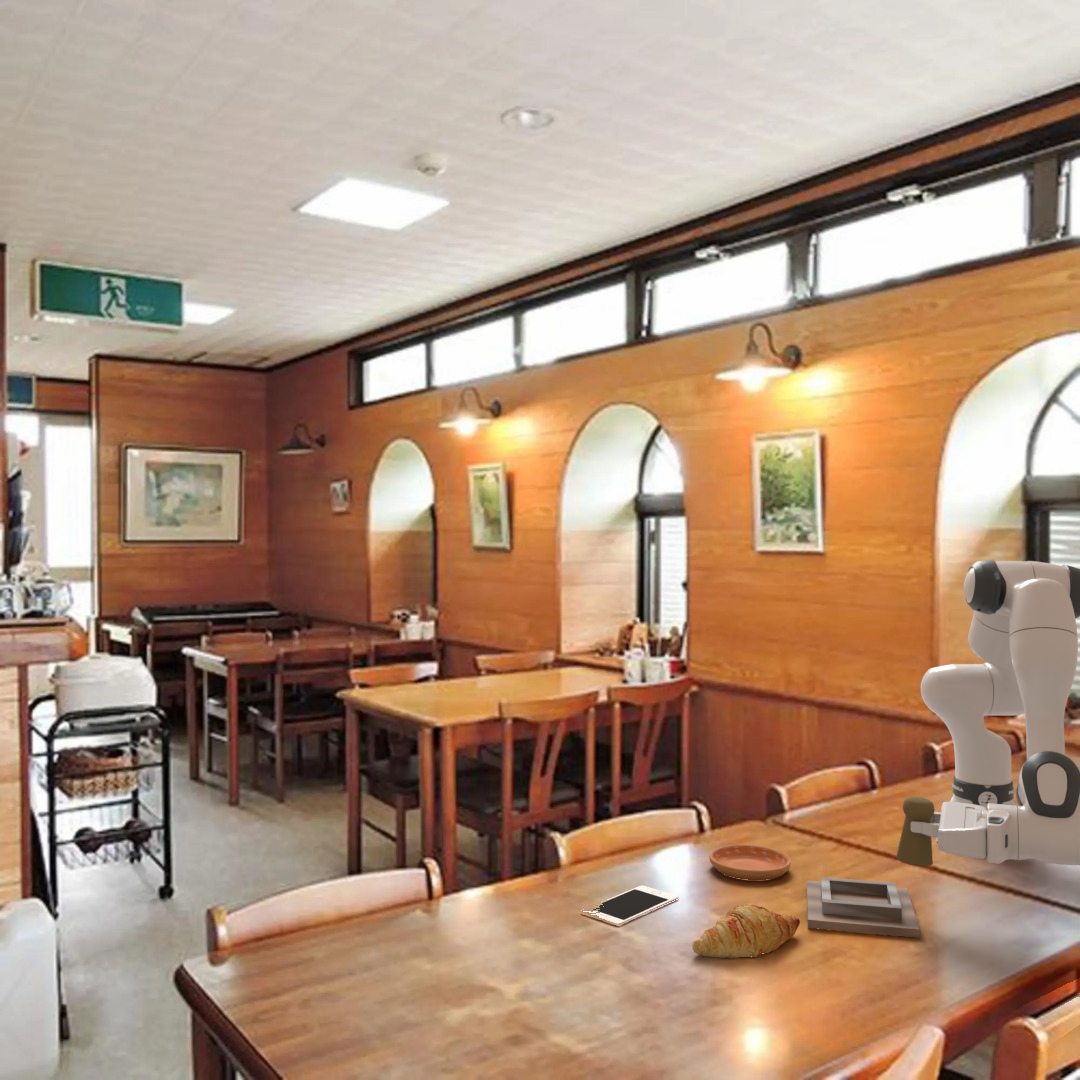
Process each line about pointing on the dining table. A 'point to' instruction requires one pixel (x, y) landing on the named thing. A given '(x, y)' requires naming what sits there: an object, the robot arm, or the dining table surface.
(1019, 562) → the robot arm
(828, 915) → the square frame holder
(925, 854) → the olive pepper mill
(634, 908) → the cell phone
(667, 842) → the dining table surface
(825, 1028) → the dining table surface
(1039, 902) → the dining table surface
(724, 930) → the croissant
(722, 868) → the saucer
